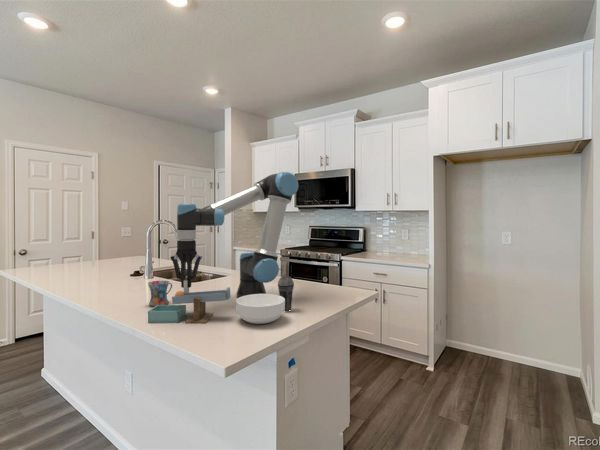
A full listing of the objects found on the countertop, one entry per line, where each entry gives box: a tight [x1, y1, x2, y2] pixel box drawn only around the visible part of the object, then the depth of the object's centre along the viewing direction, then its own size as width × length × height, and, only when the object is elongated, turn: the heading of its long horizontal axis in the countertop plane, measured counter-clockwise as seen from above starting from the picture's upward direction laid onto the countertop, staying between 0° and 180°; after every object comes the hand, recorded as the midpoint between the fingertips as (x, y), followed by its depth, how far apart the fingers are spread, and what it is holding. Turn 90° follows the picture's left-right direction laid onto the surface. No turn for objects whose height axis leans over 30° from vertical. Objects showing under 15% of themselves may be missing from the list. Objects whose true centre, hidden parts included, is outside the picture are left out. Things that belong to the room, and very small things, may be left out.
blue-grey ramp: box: [171, 286, 231, 305], centre depth 137 cm, size 22×13×4 cm, turn 92°
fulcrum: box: [185, 298, 214, 324], centre depth 134 cm, size 8×11×10 cm
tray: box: [147, 304, 187, 324], centre depth 134 cm, size 12×9×4 cm
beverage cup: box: [277, 265, 295, 312], centre depth 146 cm, size 7×7×20 cm
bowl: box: [235, 293, 285, 325], centre depth 133 cm, size 20×20×8 cm
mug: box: [147, 280, 173, 307], centre depth 155 cm, size 12×9×11 cm
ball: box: [174, 290, 184, 296], centre depth 133 cm, size 4×4×4 cm
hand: (186, 295), depth 140 cm, fingers closed
